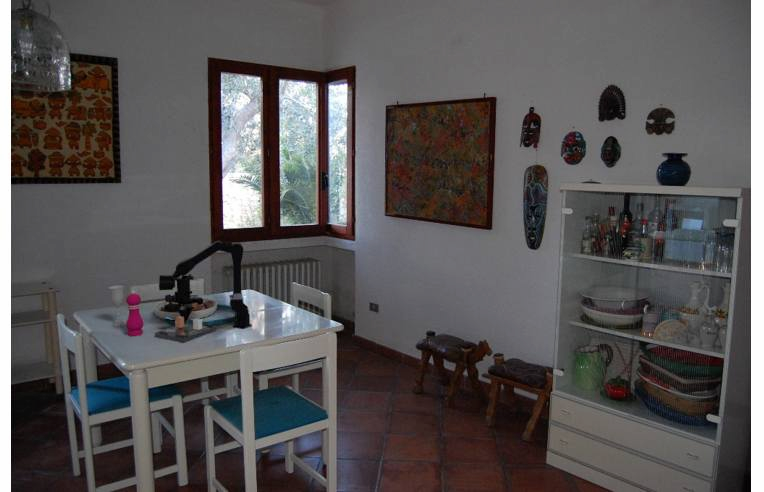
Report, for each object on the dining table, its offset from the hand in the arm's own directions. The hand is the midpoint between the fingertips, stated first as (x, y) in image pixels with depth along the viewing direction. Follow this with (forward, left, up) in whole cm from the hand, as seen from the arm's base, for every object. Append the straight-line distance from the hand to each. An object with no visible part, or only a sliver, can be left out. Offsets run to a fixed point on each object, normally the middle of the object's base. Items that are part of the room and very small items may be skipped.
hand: (184, 322), depth 267 cm
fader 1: (0, +3, -1) cm, 3 cm away
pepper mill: (+15, +15, -4) cm, 21 cm away
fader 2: (-10, +2, -1) cm, 10 cm away
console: (-5, +4, -4) cm, 7 cm away
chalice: (+34, +8, -4) cm, 35 cm away
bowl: (+20, -21, -4) cm, 29 cm away
